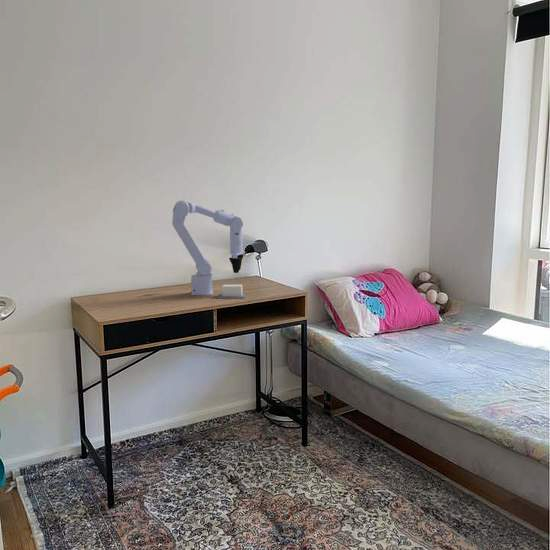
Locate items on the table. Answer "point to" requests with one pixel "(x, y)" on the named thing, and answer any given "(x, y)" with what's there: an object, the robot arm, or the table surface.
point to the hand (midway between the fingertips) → (237, 271)
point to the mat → (230, 296)
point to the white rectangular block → (232, 290)
